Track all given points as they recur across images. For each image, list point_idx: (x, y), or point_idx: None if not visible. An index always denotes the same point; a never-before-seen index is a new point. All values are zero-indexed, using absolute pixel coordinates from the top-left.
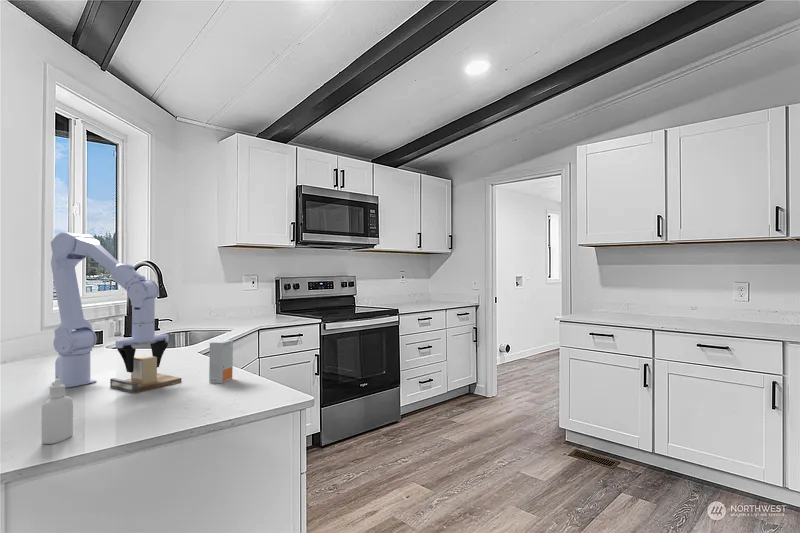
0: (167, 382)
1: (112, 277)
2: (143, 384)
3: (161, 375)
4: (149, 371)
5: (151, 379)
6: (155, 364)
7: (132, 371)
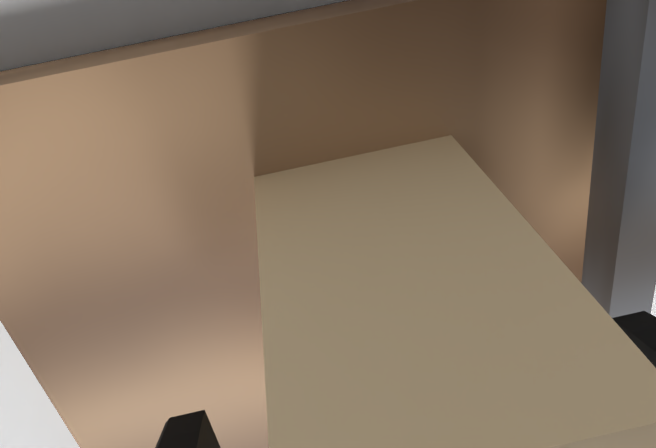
0: (132, 54)
1: None
2: (458, 113)
3: (111, 416)
4: (404, 238)
5: (340, 176)
6: (298, 339)
7: (632, 319)
